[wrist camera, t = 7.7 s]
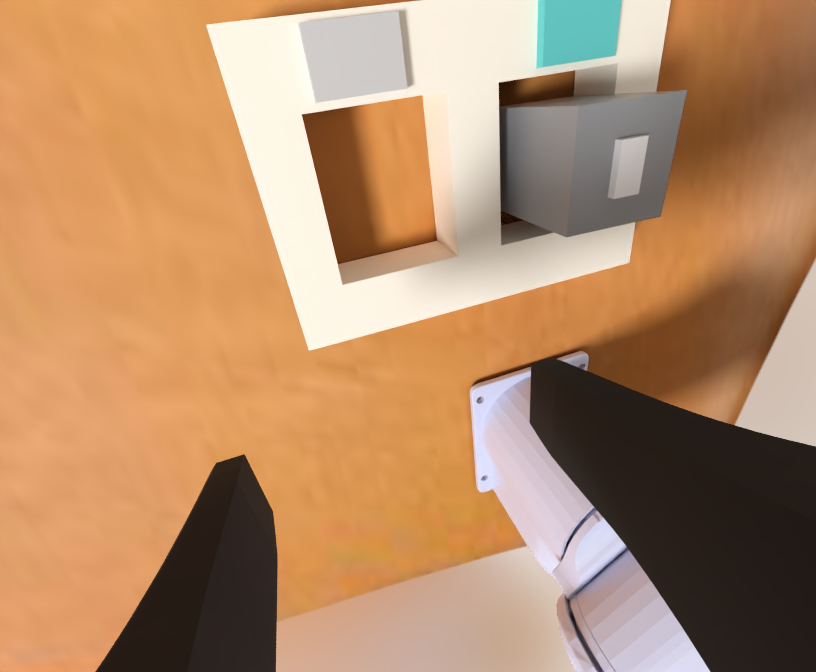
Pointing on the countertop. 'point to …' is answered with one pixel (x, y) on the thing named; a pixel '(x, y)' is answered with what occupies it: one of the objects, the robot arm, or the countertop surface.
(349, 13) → the socket board
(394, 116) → the countertop surface
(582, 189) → the plug
